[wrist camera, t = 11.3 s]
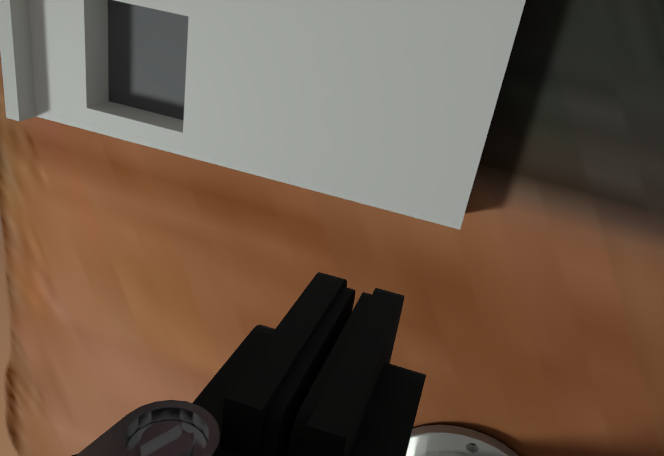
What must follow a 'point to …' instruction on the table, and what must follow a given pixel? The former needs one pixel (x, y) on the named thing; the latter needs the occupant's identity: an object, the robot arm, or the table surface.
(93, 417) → the table surface
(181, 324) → the table surface
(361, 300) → the robot arm
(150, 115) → the trap board
